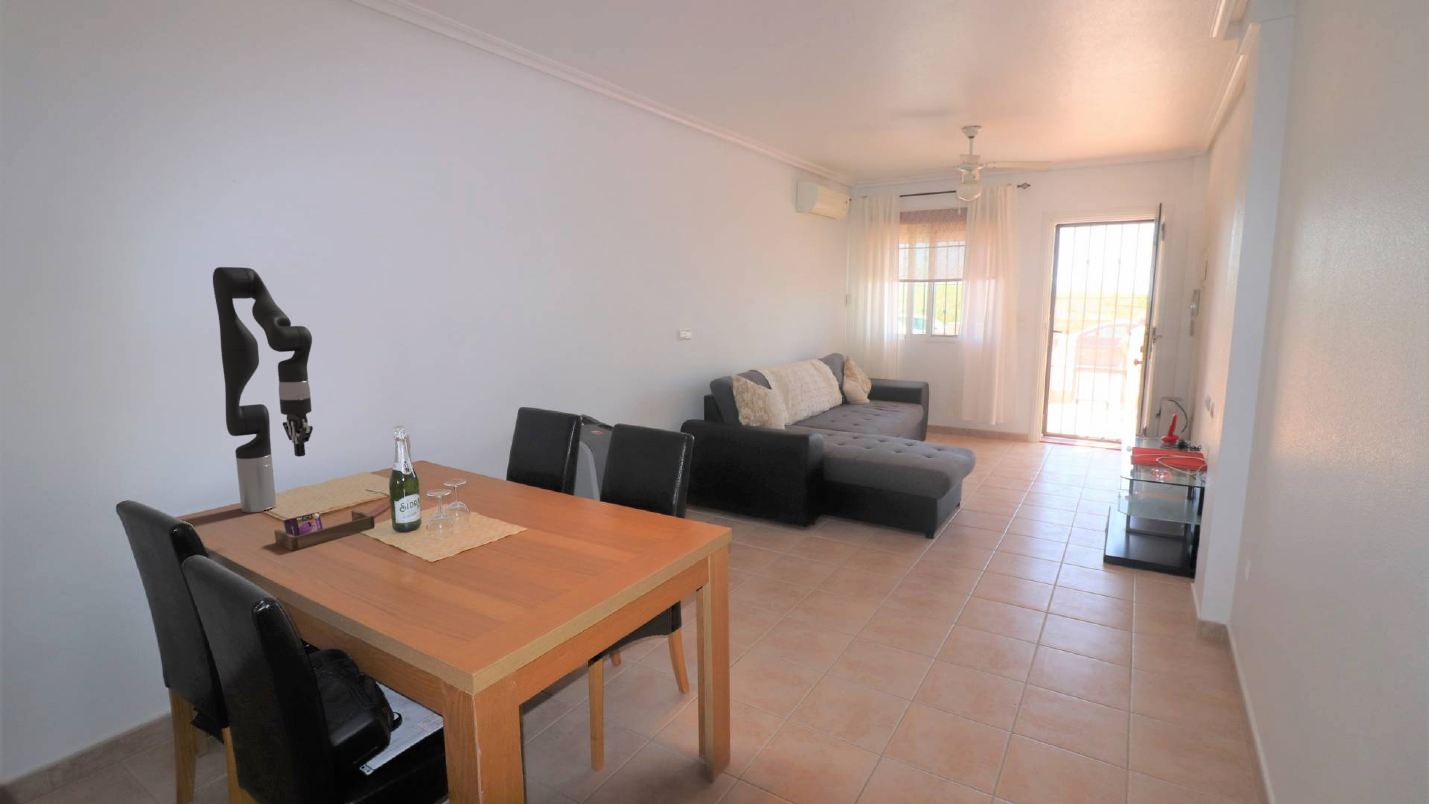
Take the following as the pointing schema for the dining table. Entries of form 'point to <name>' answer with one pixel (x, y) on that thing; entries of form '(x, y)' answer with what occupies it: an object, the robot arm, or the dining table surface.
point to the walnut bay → (326, 532)
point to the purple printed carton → (306, 527)
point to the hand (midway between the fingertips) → (300, 455)
